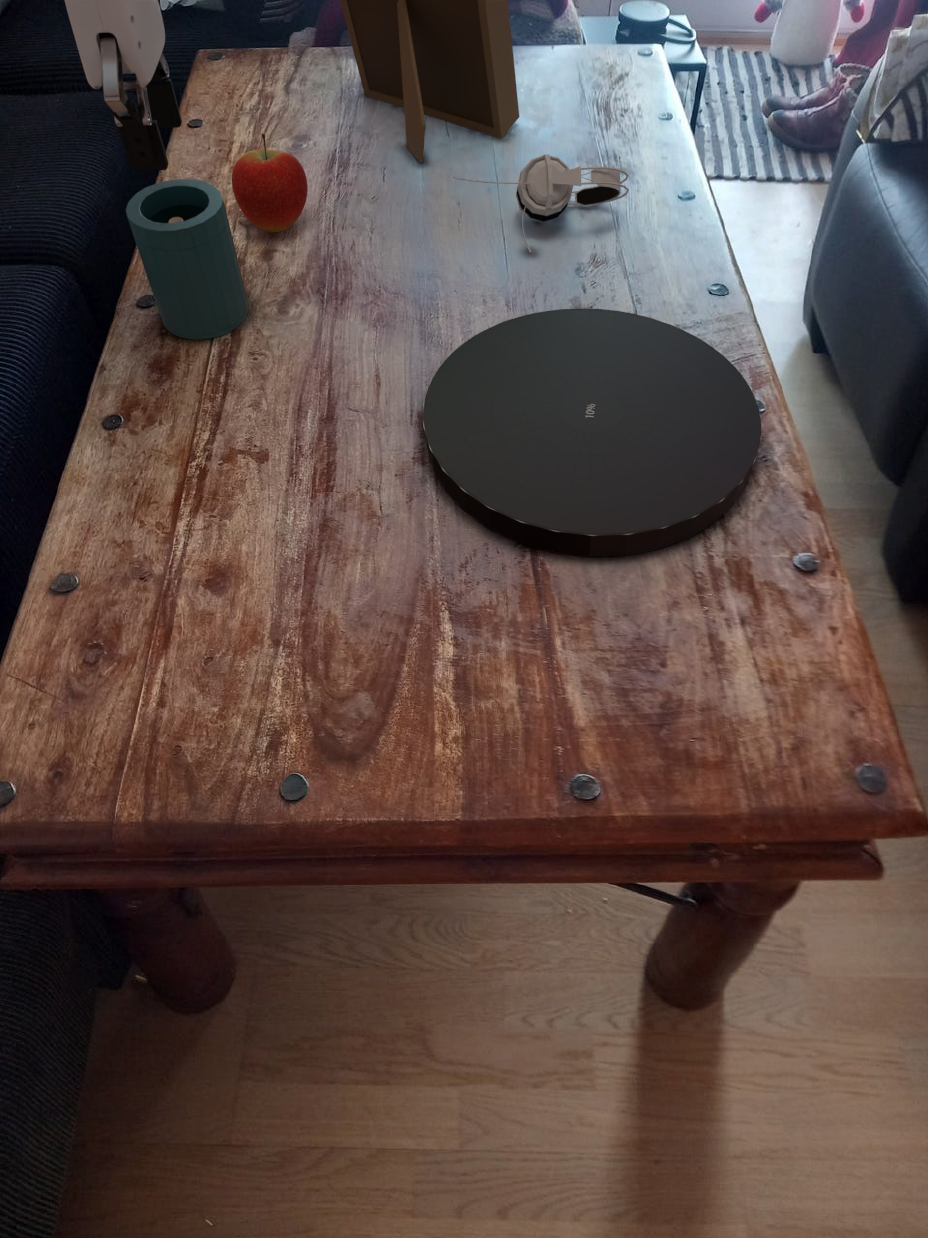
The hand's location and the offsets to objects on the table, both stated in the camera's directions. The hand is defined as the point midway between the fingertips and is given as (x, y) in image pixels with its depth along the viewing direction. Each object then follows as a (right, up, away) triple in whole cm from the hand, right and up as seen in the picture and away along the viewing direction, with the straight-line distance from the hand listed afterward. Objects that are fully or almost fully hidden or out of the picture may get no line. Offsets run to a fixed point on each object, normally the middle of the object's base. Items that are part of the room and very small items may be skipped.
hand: (157, 145), depth 82 cm
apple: (+6, +3, +24) cm, 25 cm away
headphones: (+36, +2, +23) cm, 42 cm away
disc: (+39, -25, +3) cm, 46 cm away
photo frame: (+21, +21, +37) cm, 47 cm away
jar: (0, -10, +14) cm, 17 cm away
